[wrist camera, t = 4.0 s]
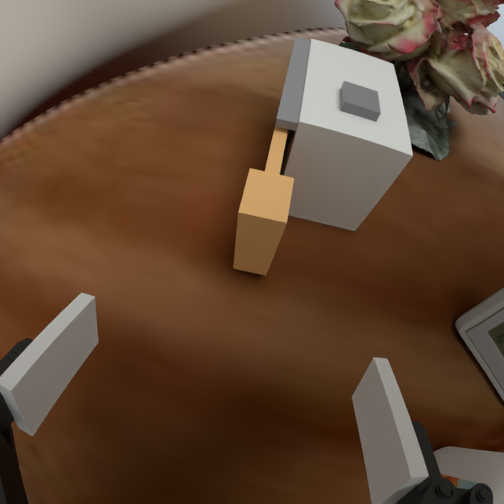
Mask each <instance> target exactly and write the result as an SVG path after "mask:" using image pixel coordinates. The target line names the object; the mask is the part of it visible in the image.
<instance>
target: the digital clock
mask: <svg viewBox="0 0 504 504" xmlns="http://www.w3.org/2000/svg"><path fill="white" fill-rule="evenodd" d="M455 326H456V329H457V330H458V332H459V334H460V335H461V337H462V338H463V340H464V341H465V343H466V344H467V346H468V348H469V349H470V351H471V352H472V353H473V355H474V356H475V358H476V359H477V361H478V362H479V364H480V365H481V367H482V368H483V370H484V371H485V373H486V374H487V376H488V377H489V379H490V381H491V382H492V384H493V385H494V387H495V388H496V390H497V392H498V393H499V395H500V396H501V398H502V399H503V401H504V287H502V288H501V289H500V290H498V291H497V292H495V293H494V294H493V295H491V296H490V297H488V298H487V299H485V300H484V301H482V302H481V303H480V304H478V305H477V306H475V307H473V308H472V309H470V310H469V311H467V312H466V313H464V314H463V315H461V316H460V317H459V318H458V319H457V321H456V323H455Z"/></svg>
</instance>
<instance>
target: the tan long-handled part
mask: <svg viewBox="0 0 504 504" xmlns="http://www.w3.org/2000/svg"><path fill="white" fill-rule="evenodd" d="M287 133H288V129H286V128H281V127H276V126H275V129H274V133H273V138H272V142H271V146H270V151H269V155H268V159H267V164H266V168H265V171H261V170H256V169H251V168H250V170H249V174H248V177H247V181H246V185H245V189H244V193H243V197H242V200H241V204H240V208H239V212H238V222H237V232H236V243H235V254H234V265H233V268H234V269H238V270H243V271H247V272H252V273H256V274H261V275H266V274H267V272H268V269H269V267H270V264H271V262H272V259H273V257H274V254H275V252H276V249H277V247H278V244H279V242H280V239H281V237H282V234H283V231H284V229H285V226H286V224H287V219H288V213H289V207H290V201H291V195H292V189H293V182H294V178H292V177H288V176H283V175H280V169H281V164H282V159H283V154H284V149H285V143H286V138H287Z"/></svg>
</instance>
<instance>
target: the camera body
mask: <svg viewBox="0 0 504 504" xmlns="http://www.w3.org/2000/svg"><path fill="white" fill-rule="evenodd" d="M275 126H276V127H281V128H286V129H289V130H288V134H287V138H286V143H285V149H284V154H283V159H282V164H281V169H280V175H283V176H288V177H292V178H294V182H293V189H292V195H291V201H290V207H289V213H288V215H289V216H293V217H297V218H302V219H306V220H310V221H315V222H319V223H323V224H327V225H331V226H335V227H339V228H343V229H347V230H351V231H355V230H356V229H357V228H358V227H359V226H360V224H361V223H362V222H363V221H364V219H365V218H366V217H367V216H368V214H369V213H370V212H371V210H372V209H373V208H374V207H375V205H376V204H377V203H378V202H379V200H380V199H381V198H382V196H383V195H384V194H385V192H386V191H387V190H388V189H389V187H390V186H391V185H392V183H393V182H394V181H395V179H396V178H397V177H398V175H399V174H400V173H401V171H402V170H403V169H404V167H405V166H406V165H407V163H408V162H409V161H410V159H411V158H412V156H413V153H412V147H411V141H410V136H409V130H408V125H407V120H406V115H405V110H404V106H403V101H402V97H401V93H400V89H399V84H398V81H397V77H396V73H395V69H394V66H393V64H392V63H389V62H386V61H384V60H381V59H378V58H375V57H372V56H369V55H366V54H363V53H360V52H357V51H354V50H351V49H347V48H344V47H341V46H337V45H334V44H330V43H326V42H322V41H318V40H314V39H311V40H308V39H303V38H299V37H296V38H295V42H294V47H293V51H292V55H291V59H290V63H289V68H288V72H287V76H286V80H285V85H284V89H283V93H282V97H281V102H280V106H279V110H278V115H277V119H276V124H275Z"/></svg>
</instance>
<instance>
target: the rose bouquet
mask: <svg viewBox="0 0 504 504" xmlns="http://www.w3.org/2000/svg"><path fill="white" fill-rule="evenodd" d="M499 4H504V0H335V6H336V7H337V8H338V9H339V10H340V11H341V13H342V15H343V17H344V18H345V25H346V27H347V33H348V34H349V37H348V36H347V37H345V38H344V39H343V40H342V41H344V42H346V43H342V42H341V43H340V45H339V46H341V47H344V48H347V49H351V50H354V51H357V52H360V53H363V54H366V55H369V56H372V57H375V58H378V59H381V60H384V61H386V62H389V63H392V64H393V66H394V69H395V73H396V77H397V81H398V84H399V89H400V93H401V96H402V97H404V96H405V97H406V99H405V100H403V106H404V110H405V115H406V120H407V125H408V130H409V136H410V141H411V143H412V144H414V145H416V146H418V147H419V148H421V149H425V150H426V151H429V152H430V153H432V154H433V156H434V158H435V159H437V160H438V161H440V160H441V159H442V158H444V157H446V156H448V154H449V151H450V150H449V132H450V130H451V128H452V127H453V126H457V124H456V122H455V121H452V120H448V119H447V117H446V114H447V113H449V112H450V108H449V99H450V97H449V95H450V96H453V97H454V98H455V100H456V101H457V102H459V103H460V104H461V105H462V107H464V108H465V109H466V110H467V111H468V112H470V113H472V114H478V115H489V114H490V112H491V111H492V112H493V113H495V110H494V107H495V106H496V102H497V101H498V100H499V97H498V93H499V91H500V92H503V91H504V89H503V87H502V83H503V84H504V51H503V48H502V45H501V43H500V41H499V40H498V39H497V38H496V37H495V36H494V35H492V34H491V33H490V32H489V31H488V30H486V27H487V26H489V25H490V24H492V23H494V22H495V21H497V19H498V18H499V17H500V14H499V13H498V12H497V11H496V10H495V9H499V7H498V6H497V5H499ZM464 33H467V34H468V35H465V34H464ZM414 90H415V91H417V93H418V94H417V93H415V92H414ZM409 93H412V94H410V95H409ZM414 94H415V95H414ZM441 106H442V107H441Z"/></svg>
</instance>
